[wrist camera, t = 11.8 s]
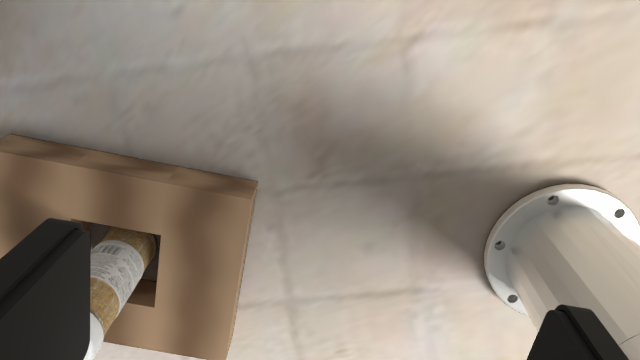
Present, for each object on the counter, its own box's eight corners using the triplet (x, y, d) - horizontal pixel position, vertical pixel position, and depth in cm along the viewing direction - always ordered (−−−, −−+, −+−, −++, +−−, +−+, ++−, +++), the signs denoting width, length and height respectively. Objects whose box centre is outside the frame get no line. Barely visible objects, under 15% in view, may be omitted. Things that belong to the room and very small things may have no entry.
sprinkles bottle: (104, 259, 45) (18, 370, 33) (108, 214, 44) (17, 313, 31) (156, 270, 46) (89, 384, 33) (161, 225, 44) (93, 328, 31)
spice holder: (257, 181, 42) (251, 199, 39) (232, 336, 48) (225, 362, 45) (10, 134, 41) (-18, 148, 38) (16, 298, 47) (-8, 322, 44)
